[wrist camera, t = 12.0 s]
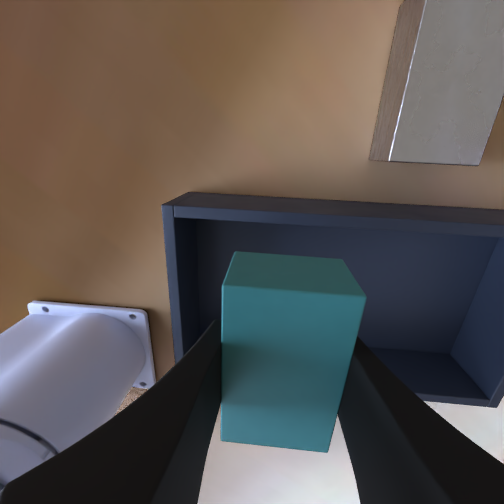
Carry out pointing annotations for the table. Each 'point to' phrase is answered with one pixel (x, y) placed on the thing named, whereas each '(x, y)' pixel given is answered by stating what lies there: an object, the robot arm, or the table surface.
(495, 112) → the silver metal block
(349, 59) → the table surface
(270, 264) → the block
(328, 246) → the box
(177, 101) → the table surface
